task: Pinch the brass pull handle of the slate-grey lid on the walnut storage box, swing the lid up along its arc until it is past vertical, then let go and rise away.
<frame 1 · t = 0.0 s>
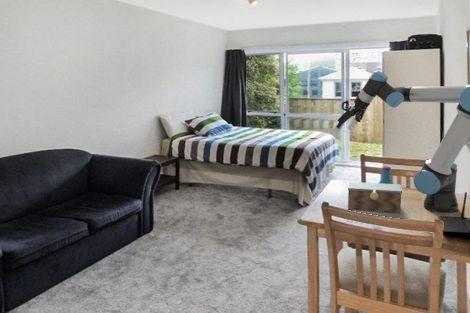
hand: (342, 130, 217), 36 cm above the table, tool tilted 35°, fingers open, 13 cm apart
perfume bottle: (385, 193, 225), on the table
storage box: (373, 207, 201), on the table
box lid: (374, 190, 194), point 11 cm above the table, hinge at 0.0°
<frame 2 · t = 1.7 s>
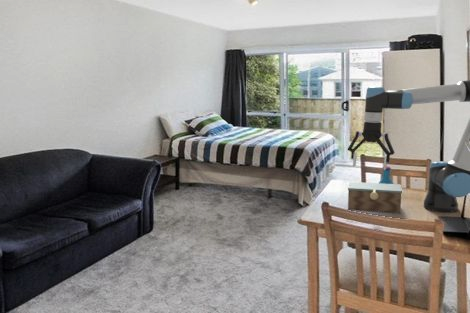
hand: (369, 167, 185), 23 cm above the table, tool pointing down, fingers open, 13 cm apart
nothing on the table moved.
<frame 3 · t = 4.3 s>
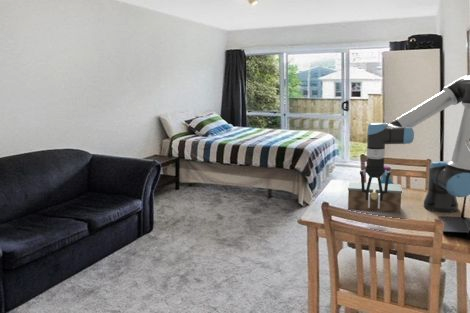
hand: (373, 207, 186), 5 cm above the table, tool pointing down, fingers closed on box lid, 4 cm apart
box lid: (374, 190, 194), point 11 cm above the table, hinge at 0.0°, touching gripper
everything else where it was.
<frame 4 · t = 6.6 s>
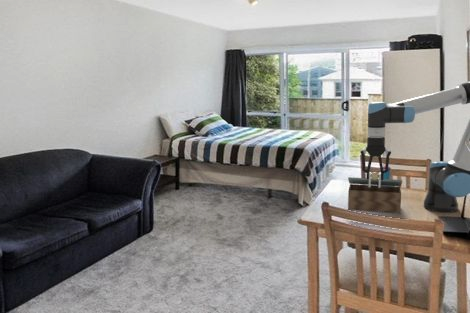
hand: (374, 186, 186), 14 cm above the table, tool pointing down, fingers closed on box lid, 4 cm apart
box lid: (374, 179, 194), point 15 cm above the table, hinge at 24.7°, touching gripper
everything else where it was.
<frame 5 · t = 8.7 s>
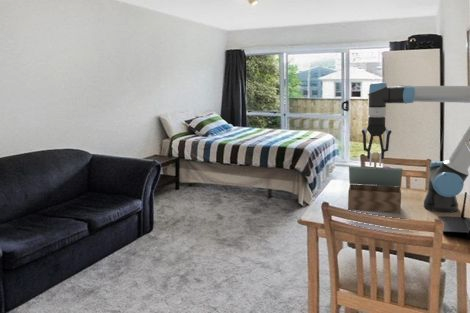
hand: (375, 165, 192), 23 cm above the table, tool pointing down, fingers closed on box lid, 4 cm apart
box lid: (375, 169, 197), point 20 cm above the table, hinge at 54.6°, touching gripper
everything else where it was.
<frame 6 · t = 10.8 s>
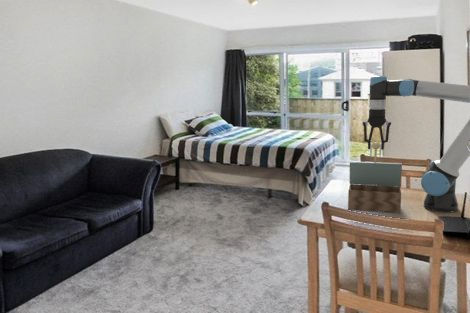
hand: (375, 155, 199), 26 cm above the table, tool pointing down, fingers closed on box lid, 4 cm apart
box lid: (375, 164, 201), point 21 cm above the table, hinge at 78.3°, touching gripper
everything else where it was.
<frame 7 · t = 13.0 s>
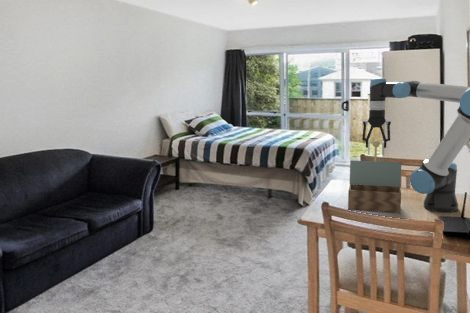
hand: (375, 153, 208), 25 cm above the table, tool pointing down, fingers open, 6 cm apart
box lid: (375, 162, 205), point 21 cm above the table, hinge at 103.2°
everything else where it was.
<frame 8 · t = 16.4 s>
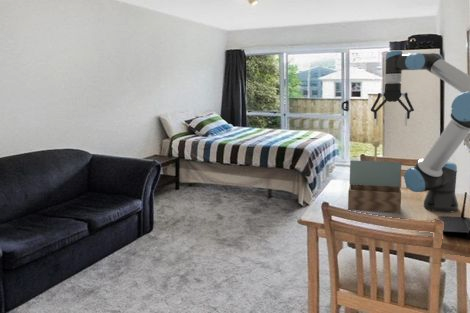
hand: (391, 125, 204), 40 cm above the table, tool pointing down, fingers open, 13 cm apart
nothing on the table moved.
at the end: box lid at +103° (first picture: +0°); the gripper is holding nothing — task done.
